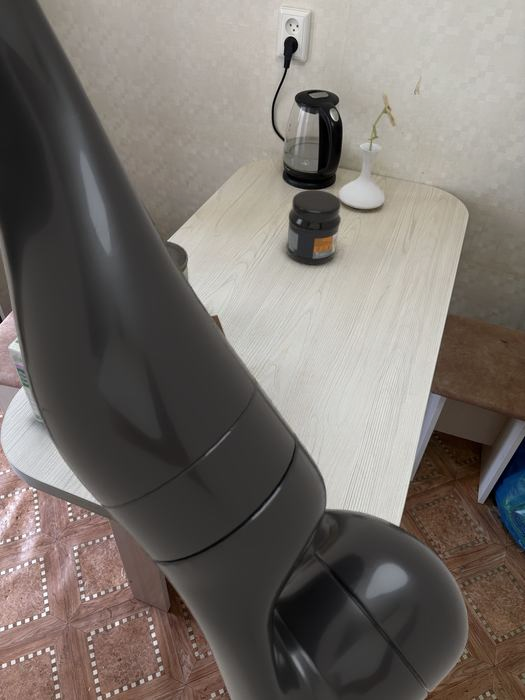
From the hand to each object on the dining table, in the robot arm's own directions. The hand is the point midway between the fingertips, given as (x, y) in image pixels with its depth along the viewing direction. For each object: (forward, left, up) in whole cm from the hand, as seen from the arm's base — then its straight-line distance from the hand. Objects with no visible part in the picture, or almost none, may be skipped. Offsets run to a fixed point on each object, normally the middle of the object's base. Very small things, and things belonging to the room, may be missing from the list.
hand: (220, 476), depth 54 cm
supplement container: (+33, +56, -12) cm, 66 cm away
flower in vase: (+54, +75, -12) cm, 93 cm away
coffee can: (-1, +40, -12) cm, 41 cm away
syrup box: (-18, +24, -12) cm, 32 cm away
